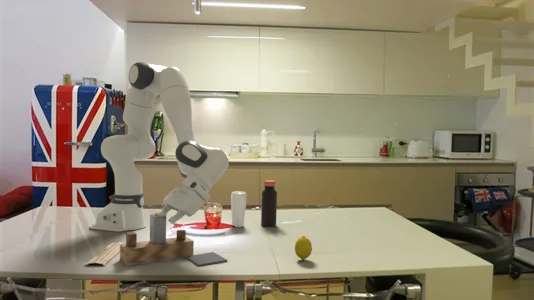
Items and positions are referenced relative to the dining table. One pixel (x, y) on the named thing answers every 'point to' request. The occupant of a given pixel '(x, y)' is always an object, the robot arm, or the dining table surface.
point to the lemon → (303, 247)
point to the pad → (206, 259)
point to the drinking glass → (238, 208)
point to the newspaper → (106, 254)
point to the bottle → (269, 204)
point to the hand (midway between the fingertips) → (165, 219)
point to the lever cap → (157, 228)
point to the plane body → (155, 249)
